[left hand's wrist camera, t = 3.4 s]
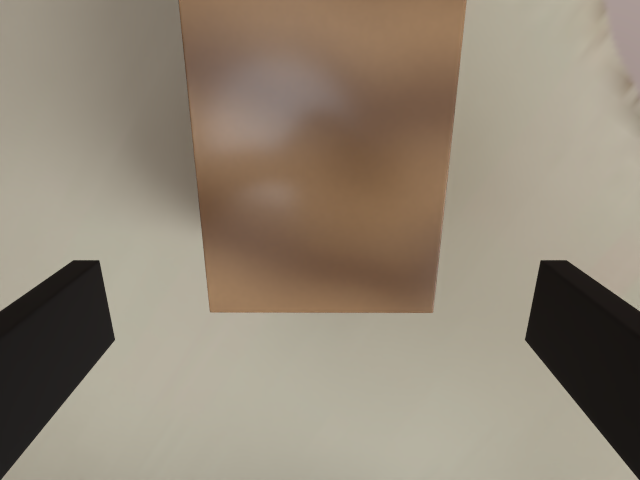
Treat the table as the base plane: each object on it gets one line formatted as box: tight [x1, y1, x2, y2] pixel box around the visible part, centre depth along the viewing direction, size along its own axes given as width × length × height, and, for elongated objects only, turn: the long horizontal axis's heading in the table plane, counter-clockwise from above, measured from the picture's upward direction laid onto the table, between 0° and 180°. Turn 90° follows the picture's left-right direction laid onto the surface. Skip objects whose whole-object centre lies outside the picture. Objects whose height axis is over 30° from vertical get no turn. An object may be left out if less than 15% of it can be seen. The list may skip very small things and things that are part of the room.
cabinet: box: [179, 0, 467, 313], centre depth 21 cm, size 20×11×10 cm, turn 0°
